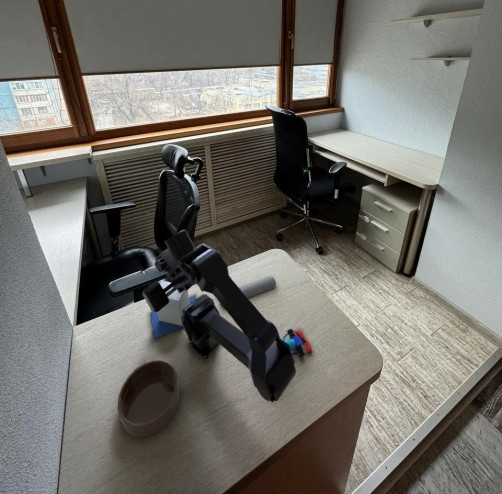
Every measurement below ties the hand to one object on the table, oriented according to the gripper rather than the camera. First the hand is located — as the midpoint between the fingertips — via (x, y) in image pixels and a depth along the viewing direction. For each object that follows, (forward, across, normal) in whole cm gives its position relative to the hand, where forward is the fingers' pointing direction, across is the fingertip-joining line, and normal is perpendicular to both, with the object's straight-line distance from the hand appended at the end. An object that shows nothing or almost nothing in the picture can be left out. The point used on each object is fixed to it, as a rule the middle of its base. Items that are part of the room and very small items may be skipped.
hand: (168, 284), depth 78 cm
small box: (+8, 0, +9) cm, 12 cm away
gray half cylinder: (-1, -20, +18) cm, 27 cm away
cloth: (+8, 0, +10) cm, 12 cm away
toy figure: (-15, -11, +32) cm, 37 cm away
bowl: (-2, +17, +19) cm, 26 cm away
